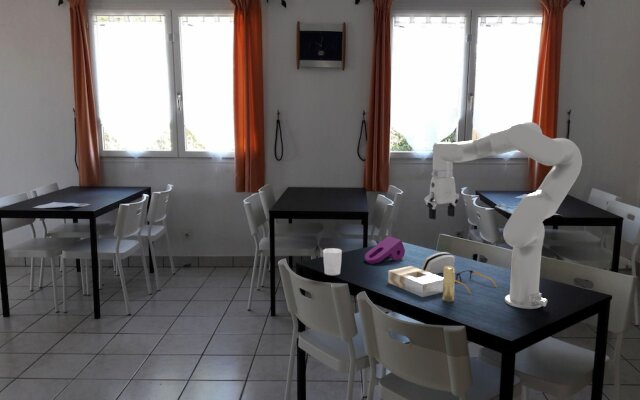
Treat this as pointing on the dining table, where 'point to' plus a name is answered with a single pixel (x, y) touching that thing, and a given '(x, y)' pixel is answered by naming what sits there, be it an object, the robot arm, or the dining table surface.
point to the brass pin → (448, 283)
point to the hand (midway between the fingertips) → (441, 217)
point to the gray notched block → (424, 284)
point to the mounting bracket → (386, 250)
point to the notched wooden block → (403, 275)
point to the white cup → (332, 261)
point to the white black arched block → (438, 262)
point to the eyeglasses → (470, 278)
